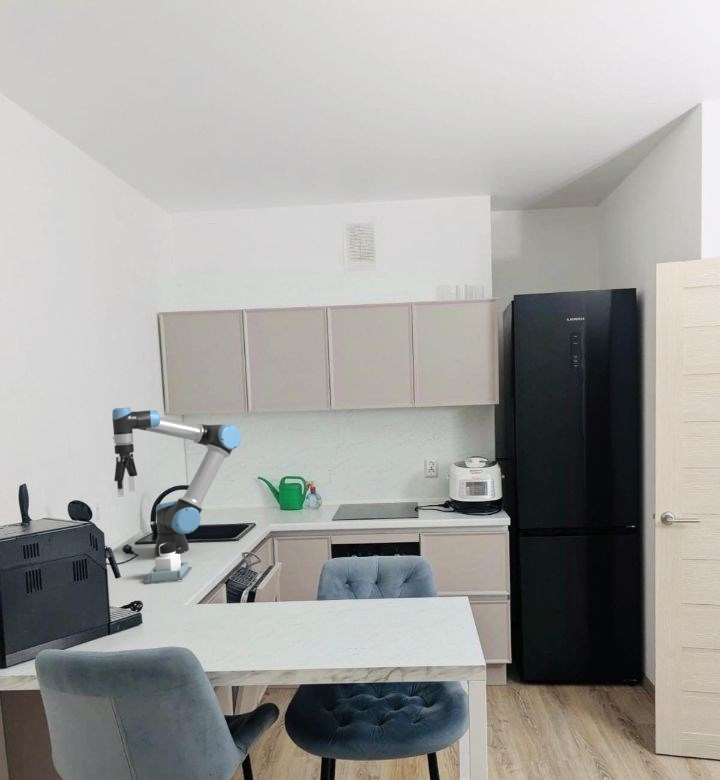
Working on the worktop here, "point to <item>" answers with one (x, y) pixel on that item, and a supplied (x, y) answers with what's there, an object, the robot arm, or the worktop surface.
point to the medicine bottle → (167, 558)
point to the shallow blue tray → (168, 574)
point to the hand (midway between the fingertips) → (127, 494)
